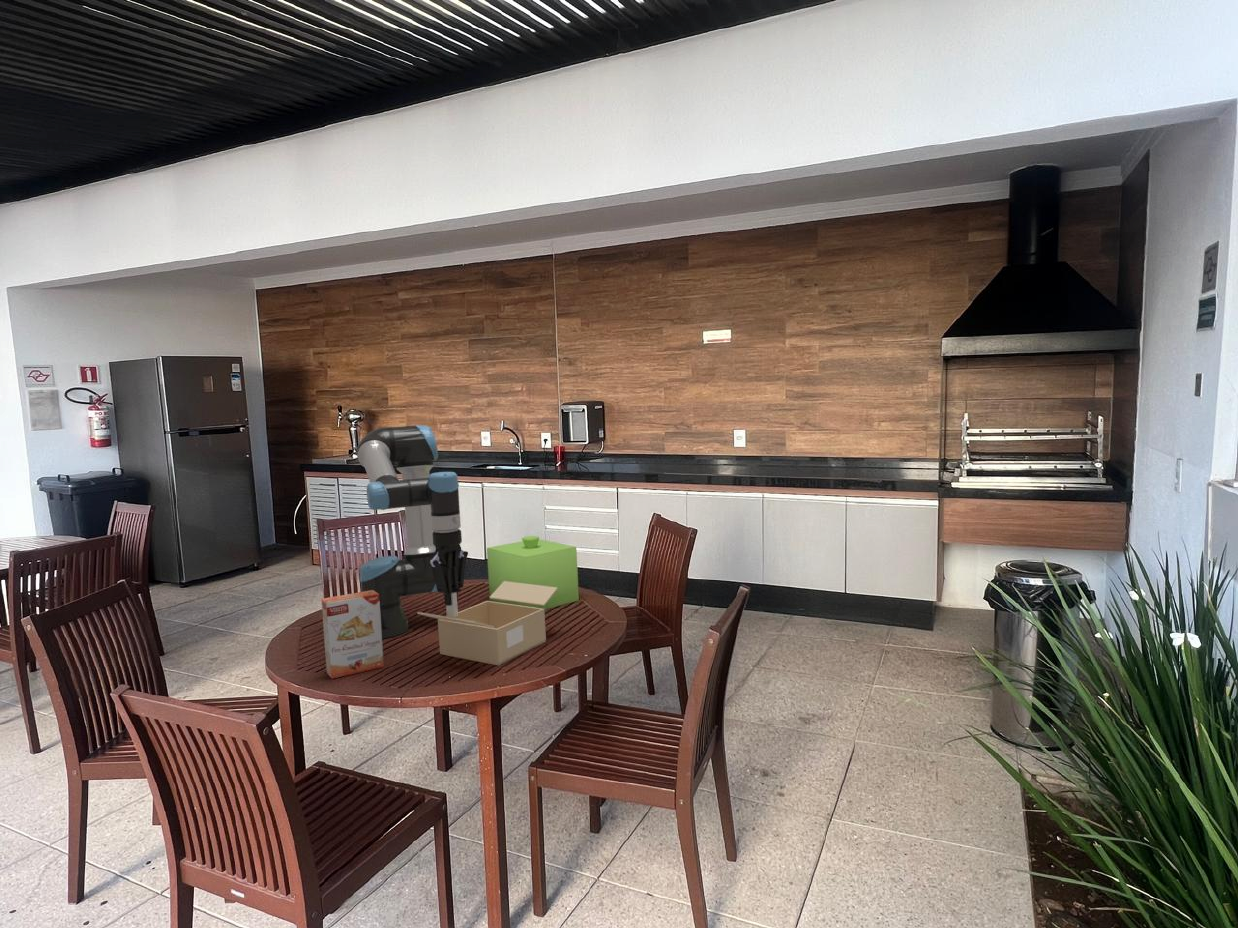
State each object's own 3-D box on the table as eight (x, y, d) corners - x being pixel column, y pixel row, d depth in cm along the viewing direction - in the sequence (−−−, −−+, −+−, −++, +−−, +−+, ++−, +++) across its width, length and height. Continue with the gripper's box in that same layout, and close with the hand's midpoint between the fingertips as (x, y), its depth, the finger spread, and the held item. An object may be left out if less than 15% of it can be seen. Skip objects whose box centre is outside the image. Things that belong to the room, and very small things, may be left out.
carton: (440, 653, 211) (437, 619, 210) (489, 632, 228) (487, 600, 228) (499, 665, 199) (497, 629, 198) (546, 642, 217) (544, 608, 216)
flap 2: (489, 597, 228) (503, 581, 233) (489, 598, 228) (504, 582, 234) (543, 604, 217) (557, 587, 223) (544, 606, 217) (558, 588, 223)
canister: (489, 600, 266) (486, 537, 264) (539, 588, 279) (535, 528, 277) (528, 614, 247) (524, 546, 245) (578, 600, 260) (575, 536, 258)
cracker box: (331, 680, 194) (325, 602, 192) (326, 673, 199) (320, 597, 197) (385, 667, 202) (379, 592, 200) (378, 661, 207) (373, 588, 205)
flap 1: (437, 618, 209) (417, 613, 202) (437, 616, 209) (417, 611, 203) (493, 627, 198) (474, 622, 192) (494, 626, 198) (475, 621, 192)
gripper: (439, 535, 190) (445, 624, 192) (473, 526, 201) (479, 611, 203) (418, 533, 194) (424, 621, 196) (453, 525, 205) (459, 608, 207)
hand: (452, 615), depth 199 cm, fingers closed
